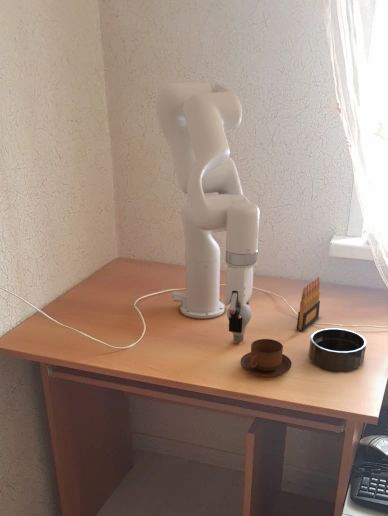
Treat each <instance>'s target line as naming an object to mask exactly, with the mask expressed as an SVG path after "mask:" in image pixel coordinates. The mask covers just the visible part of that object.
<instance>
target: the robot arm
mask: <svg viewBox="0 0 388 516" xmlns="http://www.w3.org/2000/svg"><path fill="white" fill-rule="evenodd" d="M154 111H155V117H156V121H157V124H158V126H159V129H160V131H161V133H162V135H163V137H164V138H165V141H166V143H167V145H168V147H169V151H170V154H171V158H172V159H171V160H172V163H173V168H174V171H175V176H176V179H177V183H178V185H179V189H180V190H181V191H182V193H184V194H185V195H187V200H186V201H185V202H184V203H183V204H182V206H181V209H180V217H181V223H182V229H183V230H182V231H183V237H184V259H185V261H184V262H185V267H184V268H185V269H184V270H185V291H184V292H177V291H173V292H172V293H171V294H172V295H171V298H172V301H173V302H176V303H181V304H180V305H179V306H180V307H179V310H180V312H181V314H183V315H184V316H185V317H189V318H192V319H202V320H203V319H212V318H217V317H219V316H221V315H222V314H224V313H225V309H226V307H225V306H229V307H230V308H229V307H228V308H229V311H230V312H229V320H228V332H231V333H233V332H236V333H241V332H242V317H241V313H242V307H243V306H245V304H247V305H248V306H249V307H250V298H251V297H252V294H253V289H254V287H253V286H254V267H255V266H257V265H258V251H259V234H260V233H259V230H260V208H259V206H258V205H257V204H255V203H254V202H253V203H252V202H251V201H250V200H249V198H248V197H247V196H246V195H244V192H243V187H242V184H241V179H240V175H239V172H238V168H237V165H236V163H235V161H234V160H233V158H232V157H230V155H231V150H230V149H231V148H230V146H229V141H228V138H227V135H226V131H225V130H233V129H236V128H238V127H240V125H241V123H242V119H243V107H242V103H241V101H240V98H239V97H238V95H237V94H236V92H234V91H233V90H231V89H230V88H228V87H227V86H225V85H224V84H222V83H220V82H218V81H213V80H211V81H210V80H209V81H205V80H204V81H184V82H180V81H179V82H172V83H166V84H164V85H163V86H161V87H160V88H159V89H158V90H157V91H156V93H155V97H154ZM213 193H218V194H213ZM205 194H206V195H205ZM207 194H208V195H207ZM222 232H225V265H227V268H226V277H225V286H224V287H225V288H224V303H223V302H222V301H220V294H221V293H220V288H221V287H220V285H221V284H220V283H221V248H220V246H219V244H218V242H217V241H216V240H215V238H214V237H213V234H216V233H222ZM237 303H240V305H236V304H237ZM236 308H239V312H238V311H237V310H236Z"/></svg>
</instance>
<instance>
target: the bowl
mask: <svg viewBox="0 0 388 516" xmlns="http://www.w3.org/2000/svg"><path fill="white" fill-rule="evenodd" d="M366 348H367V340H366V338H365V337H364V336H363V335H362V334H359V333H357V332H356V331H353V330H349V329H344V328H339V327H338V328H335V327H334V328H331V327H330V328H323V329H318V330H316V331H314V332H313V333H312V334H311V335H310V339H309V348H308V358H309V360H310V361H311V362H312V364H313V365H315V367H317V368H319V369H321V370H324V371H328V372H332V373H333V372H334V373H346V372H352V371H354V370H355V371H356V370H357V369H358V368H359V367H361V366H362V365H363V364H364V360H365V355H366V350H367V349H366Z"/></svg>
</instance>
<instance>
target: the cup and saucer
mask: <svg viewBox="0 0 388 516" xmlns="http://www.w3.org/2000/svg"><path fill="white" fill-rule="evenodd" d="M283 350H284V345H283V344H282V343H281V342H280V341H278V340H275V339H270V338H260V339H256V340H254V341H252V343H251V345H250V352H247V353H245V354H244V355H243V356H242V357H241V358H240V361H239V362H240V365H241V367H242V369H243V370H244V371H246V372H247V373H249V375H250V374H251V375H253V376H256V377H261V378H273V377H278V376H282V375H284V374H286V373H287V372H289V371H290V369H291V368H292V360H291V358H290V357H288V355H286V354H284V353H283Z"/></svg>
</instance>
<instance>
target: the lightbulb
mask: <svg viewBox="0 0 388 516" xmlns="http://www.w3.org/2000/svg"><path fill="white" fill-rule="evenodd" d="M236 305H240V303H237V304H236ZM229 308H230V306H229V307H228V309H227V310H226V311H227V312H226V317H227V320H228V321H229V312H230V311H229ZM236 310H237V311H238V312H239V308H236ZM252 313H253V312H252V309H251V307H250V305H249V306H248V305H247V304H245V306H243V307H242V313H241V317H242V332H241V333H236V332H232V335H233V336H232V337H233V341H234V342H235V343H236V344H240V343H243V342H244V338H245V337H244V336H245V333H246V328H247V326H248V325H249V322H250V321H251V319H252V316H253V315H252Z"/></svg>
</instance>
